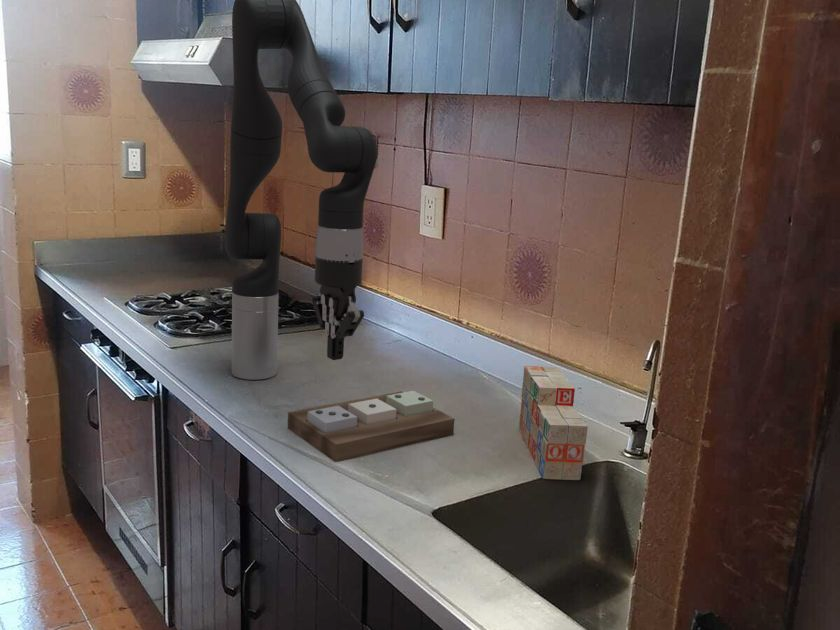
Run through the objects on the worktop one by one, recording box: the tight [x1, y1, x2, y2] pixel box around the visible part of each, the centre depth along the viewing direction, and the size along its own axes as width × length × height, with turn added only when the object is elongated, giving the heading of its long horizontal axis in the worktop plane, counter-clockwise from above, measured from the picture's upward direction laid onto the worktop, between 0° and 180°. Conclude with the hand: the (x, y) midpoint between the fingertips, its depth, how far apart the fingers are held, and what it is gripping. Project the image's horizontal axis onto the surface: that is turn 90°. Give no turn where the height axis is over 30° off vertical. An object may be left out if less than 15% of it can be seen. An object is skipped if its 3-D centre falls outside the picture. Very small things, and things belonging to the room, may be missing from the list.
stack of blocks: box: [518, 365, 589, 481], centre depth 135 cm, size 21×6×12 cm, turn 4°
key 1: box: [348, 399, 396, 425], centre depth 140 cm, size 6×6×3 cm
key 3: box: [307, 406, 357, 433], centre depth 135 cm, size 6×6×3 cm
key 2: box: [386, 390, 434, 417], centre depth 145 cm, size 6×6×3 cm
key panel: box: [287, 391, 455, 463], centre depth 140 cm, size 16×24×3 cm, turn 127°
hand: (335, 358), depth 133 cm, fingers closed
